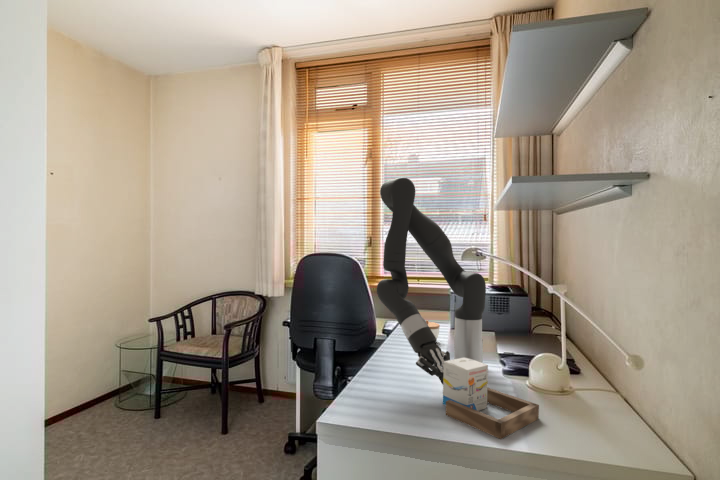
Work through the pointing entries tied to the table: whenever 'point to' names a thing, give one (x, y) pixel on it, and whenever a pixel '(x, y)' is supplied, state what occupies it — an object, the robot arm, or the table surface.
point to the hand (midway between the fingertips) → (449, 386)
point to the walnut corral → (496, 427)
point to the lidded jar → (434, 328)
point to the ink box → (465, 383)
